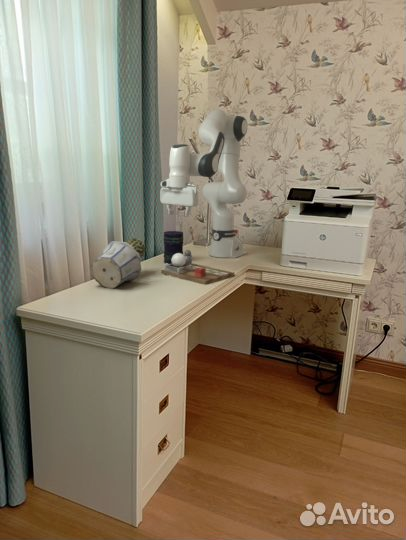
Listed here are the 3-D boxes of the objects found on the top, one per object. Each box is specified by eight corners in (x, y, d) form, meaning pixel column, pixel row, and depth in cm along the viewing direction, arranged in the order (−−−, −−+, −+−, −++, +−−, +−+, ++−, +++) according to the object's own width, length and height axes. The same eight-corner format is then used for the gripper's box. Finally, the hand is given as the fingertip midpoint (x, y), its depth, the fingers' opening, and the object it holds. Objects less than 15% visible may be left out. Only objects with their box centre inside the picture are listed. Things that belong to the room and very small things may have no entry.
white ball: (178, 265, 195) (178, 251, 194) (188, 267, 191) (188, 253, 189) (168, 267, 190) (168, 253, 189) (178, 269, 186) (178, 255, 185)
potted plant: (122, 255, 158) (155, 226, 183) (81, 254, 164) (118, 225, 189) (131, 296, 166) (161, 263, 191) (91, 293, 171) (126, 261, 197)
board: (191, 266, 206) (191, 256, 205) (234, 275, 189) (234, 265, 188) (161, 273, 192) (161, 263, 190) (204, 284, 175) (204, 273, 174)
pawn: (187, 264, 202) (187, 248, 200) (193, 265, 200) (193, 249, 198) (182, 265, 199) (182, 249, 198) (187, 267, 197) (187, 250, 195)
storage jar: (186, 263, 212) (186, 233, 208) (167, 264, 208) (167, 234, 205) (179, 259, 221) (179, 230, 217) (161, 260, 217) (160, 231, 214)
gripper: (202, 184, 179) (201, 217, 182) (168, 182, 192) (167, 213, 195) (191, 184, 174) (190, 218, 177) (157, 182, 187) (157, 214, 190)
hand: (178, 215), depth 186 cm, fingers open, 8 cm apart
